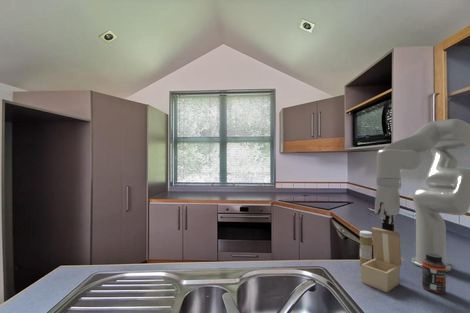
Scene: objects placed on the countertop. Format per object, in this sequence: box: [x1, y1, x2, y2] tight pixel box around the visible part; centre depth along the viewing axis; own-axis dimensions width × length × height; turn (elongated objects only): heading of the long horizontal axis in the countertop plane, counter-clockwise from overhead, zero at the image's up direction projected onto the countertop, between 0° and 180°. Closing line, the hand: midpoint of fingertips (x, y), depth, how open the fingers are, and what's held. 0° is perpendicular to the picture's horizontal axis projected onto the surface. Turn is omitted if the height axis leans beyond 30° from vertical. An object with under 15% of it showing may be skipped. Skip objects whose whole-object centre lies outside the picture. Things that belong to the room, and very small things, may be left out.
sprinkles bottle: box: [359, 230, 373, 266], centre depth 97 cm, size 5×5×14 cm
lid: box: [371, 226, 402, 267], centre depth 85 cm, size 12×8×1 cm
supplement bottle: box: [421, 253, 447, 295], centre depth 79 cm, size 6×6×11 cm
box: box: [360, 258, 401, 293], centre depth 82 cm, size 10×8×6 cm
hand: (388, 234), depth 86 cm, fingers closed
